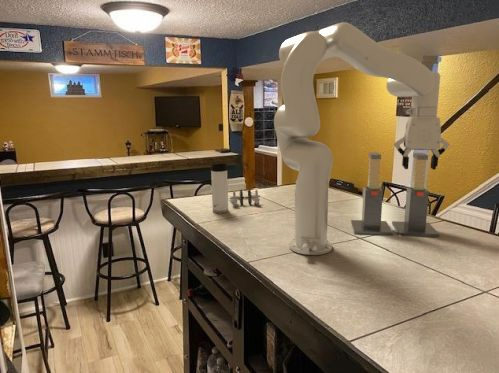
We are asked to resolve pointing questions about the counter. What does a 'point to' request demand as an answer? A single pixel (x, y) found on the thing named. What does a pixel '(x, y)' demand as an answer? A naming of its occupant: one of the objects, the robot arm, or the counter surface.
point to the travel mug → (219, 187)
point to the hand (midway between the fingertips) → (419, 168)
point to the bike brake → (255, 197)
